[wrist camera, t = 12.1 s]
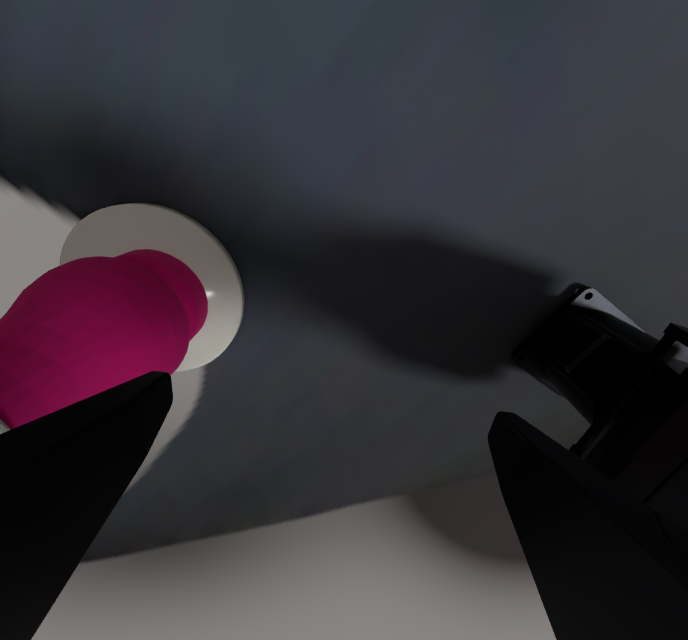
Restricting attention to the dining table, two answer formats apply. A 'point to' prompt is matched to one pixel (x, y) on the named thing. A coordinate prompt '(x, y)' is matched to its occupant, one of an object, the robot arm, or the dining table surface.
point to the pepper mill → (95, 330)
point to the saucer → (182, 243)
